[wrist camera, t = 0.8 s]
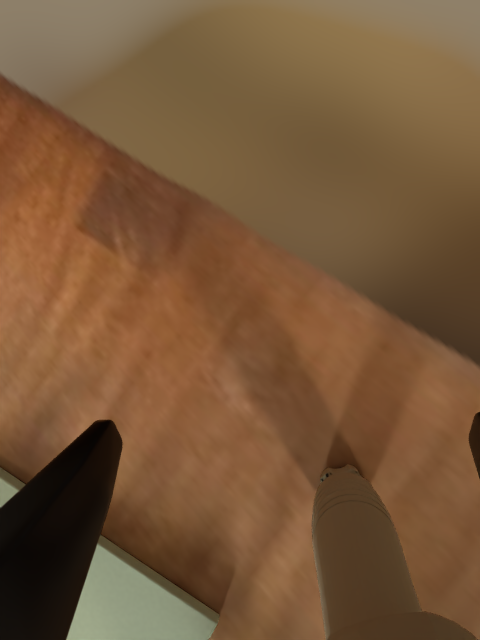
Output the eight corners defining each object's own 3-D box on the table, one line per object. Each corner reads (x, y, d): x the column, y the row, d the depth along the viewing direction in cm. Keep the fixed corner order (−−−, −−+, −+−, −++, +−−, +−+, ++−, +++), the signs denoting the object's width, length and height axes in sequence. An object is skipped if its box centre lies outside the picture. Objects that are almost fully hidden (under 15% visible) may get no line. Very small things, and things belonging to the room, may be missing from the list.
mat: (220, 614, 26) (217, 624, 25) (98, 822, 27) (92, 837, 27) (-21, 452, 28) (-30, 456, 27) (-119, 652, 30) (-131, 661, 29)
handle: (277, 491, 25) (241, 758, 10) (352, 423, 24) (433, 606, 9) (332, 550, 24) (378, 920, 10) (410, 483, 24) (593, 775, 9)
